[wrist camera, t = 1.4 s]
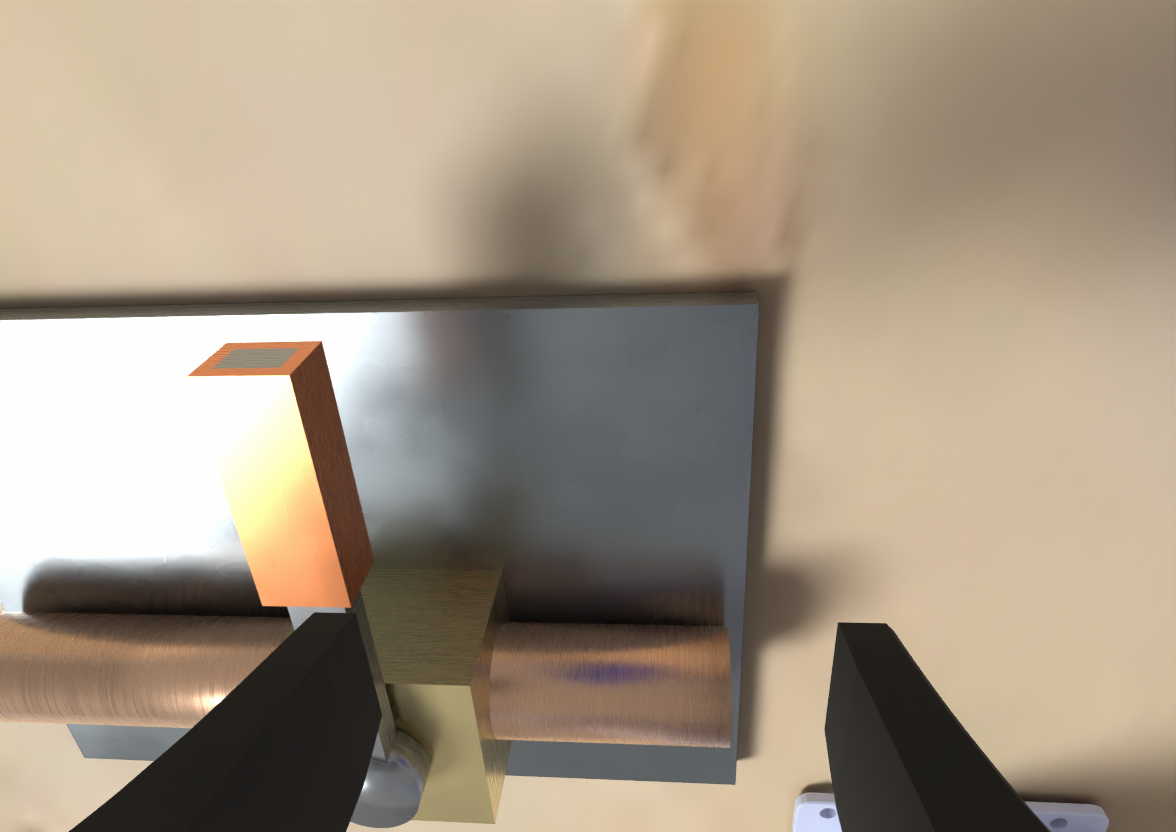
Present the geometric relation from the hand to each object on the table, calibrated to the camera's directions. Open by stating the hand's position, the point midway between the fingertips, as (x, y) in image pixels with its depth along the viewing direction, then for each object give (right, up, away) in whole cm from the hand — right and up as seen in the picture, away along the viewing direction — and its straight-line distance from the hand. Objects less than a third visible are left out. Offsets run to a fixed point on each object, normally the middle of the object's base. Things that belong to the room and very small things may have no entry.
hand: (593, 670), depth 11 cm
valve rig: (-7, -1, +12) cm, 14 cm away
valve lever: (-5, 0, +6) cm, 8 cm away
